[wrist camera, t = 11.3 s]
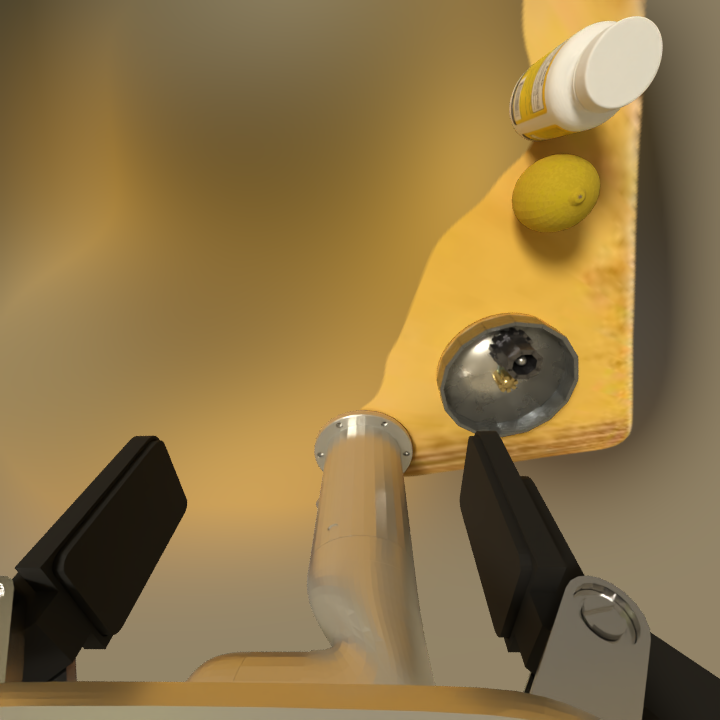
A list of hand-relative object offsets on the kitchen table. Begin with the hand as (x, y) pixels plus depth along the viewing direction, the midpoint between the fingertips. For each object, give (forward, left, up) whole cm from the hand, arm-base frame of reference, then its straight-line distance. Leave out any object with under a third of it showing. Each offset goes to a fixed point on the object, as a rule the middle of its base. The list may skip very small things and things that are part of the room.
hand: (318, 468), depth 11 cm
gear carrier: (-2, -20, -26) cm, 33 cm away
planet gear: (+1, -18, -25) cm, 31 cm away
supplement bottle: (+19, -7, -27) cm, 33 cm away
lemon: (+13, -11, -26) cm, 32 cm away
